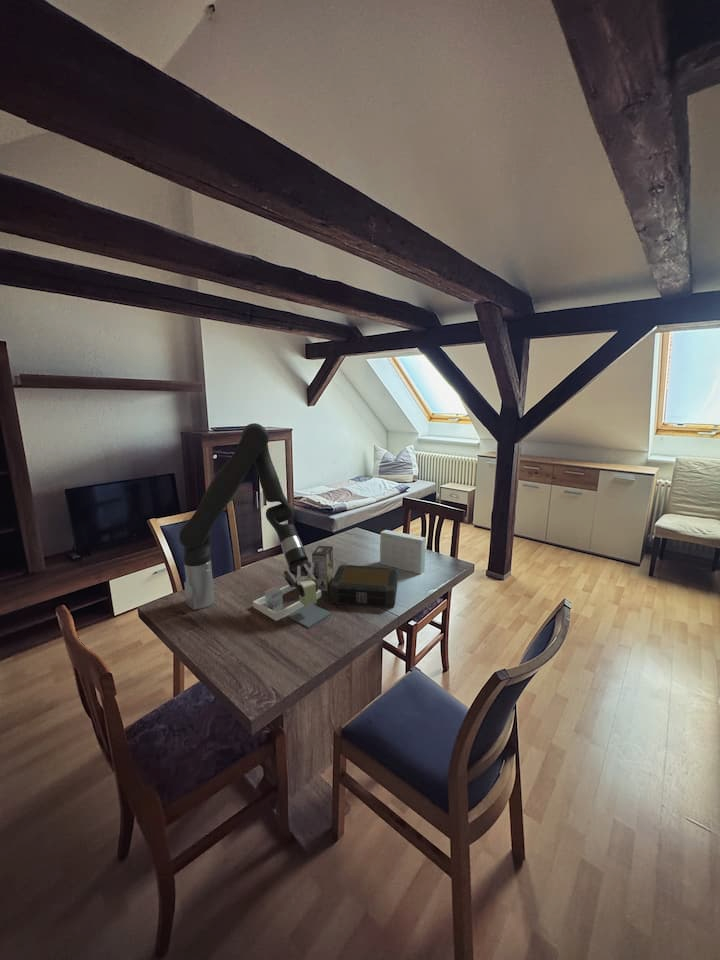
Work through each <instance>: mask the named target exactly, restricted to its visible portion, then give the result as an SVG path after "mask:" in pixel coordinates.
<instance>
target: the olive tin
mask: <svg viewBox="0 0 720 960" xmlns="http://www.w3.org/2000/svg"><path fill="white" fill-rule="evenodd" d="M300 585H302V588H303V590H304V593H305V595H304V596H303V597H301V596H300V595H299V594H298V595H299V601H300V602H301V603H302V604H303V605H304V606H308V605H311V604H314V605H315V604H317V599H316V583H315V582H314V581H313V580H311V579H310V578H309V579H308V578H306V579H304V580H300ZM304 606H303V607H304Z"/></svg>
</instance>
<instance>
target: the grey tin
mask: <svg viewBox="0 0 720 960" xmlns="http://www.w3.org/2000/svg"><path fill="white" fill-rule="evenodd" d="M264 596H265V602H266V603H265V606H266V607H268V608H269V609H271V610H273V611H275V612H276V613H277V612H279V611H281V610H282V609H284V599H283V595H282V590H280V588H278V587H277V586H273V587H271V588H268V589H266V590H265V591H264Z"/></svg>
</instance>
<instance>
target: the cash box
mask: <svg viewBox="0 0 720 960" xmlns="http://www.w3.org/2000/svg"><path fill="white" fill-rule="evenodd" d="M398 572H399V571H398V568H394V567H387V566H386V567H385V566H384V567H383V566H370V565H369V566H368V565H367V566H366V565H353V564H351V565H350V564H341V565H339V566H338V567H337V570H336V572H335V574H334V575H333V580H332V582H331V584H330V588H329V595H330V596H329V597H330V598H329V601H330V603H331V604H336V605H349V606H363V607H375V608H386V609H387V608H389V609H391V608H392V609H393V608H394V607H395V606H396V599H397V592H398V591H397V590H398V575H399V574H398Z"/></svg>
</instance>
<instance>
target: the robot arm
mask: <svg viewBox="0 0 720 960" xmlns="http://www.w3.org/2000/svg"><path fill="white" fill-rule="evenodd" d="M269 440H270V437H269V432H268V431H267V429H266V428H265V427H264V426H263V425H261V424H259V423H255V422H253V423H250V424H247V425H246V426H245V427H244V428H243V429H242V432H241V437H240V441H239V443H238V445H237V447H236V449H235V451H233V453H232V455H231V456H230V457H229V459H228V460H227V461H226V462H225V463H224V464H223V465H222V466H221V467H220V469H219V470H217V472H216V474H215V475H214V477H213V478H212V480H211V481H210V483H209V484H208V487H207V488H206V490H205V492H204V495H203V496H202V499H201V501H200V503H199V505H198V507H197V509H196V511H195V512H194V513H193V514H192V515H191V517H190V519H188V520H187V521H186V522H185V523H184V525H183V526H182V527H181V529H180V530H179V535H178V536H179V541H180V544H181V545H182V547H184V552H183V553H184V554H183V563H184V573H185V581H184V582H183V584H184V593H185V601H186V602H185V603H186V606H188V607H189V608H191V610H193V611H195V610H200V609H204V608H208V607H210V606H211V605H213V604H214V603H215V601H216V600H215V591H214V578H213V571H212V560H211V559H212V558H211V550H212V549H211V548H212V547H211V546H212V545H211V533H210V532H211V531H210V530H211V529H212V527H213V525H214V523H215V522H216V520H217V518H218V517H219V516H220V514H222V512H223V511H224V509H225V508H226V507H227V506H228V505H229V503H230V501H231V500H232V499H233V497H234V496H235V494H236V493H237V491H238V489H239V488H240V487H241V484H242V483H243V481H244V480H245V478H246V476H247V474H248V471H249V469H250V468H251V466H252V464H253V463H254V465H255V468H256V471H257V476H258V480H259V483H260V487H261V490H262V493H263V496H264V499H265V501H266V502H268V503H276V502H278V503H279V504H276V505H274V506H270V507H268V508H267V509H266V512H265V517H266V520H267V521H268V523H269V524H270V526H272V528H273V529H274V530H275V532H276V534H277V537H278V539H279V541H280V545H281V549H282V553H283V555H284V558H285V560H286V563H287V565H288V569H287V570H284V571H283V573H282V577H283V578H284V579H285V581H286V582H287V585H290V587H296V590H297V592H298V595H300V596H301V597H303V596H304V595H305V593H304V590H303V588H302V585H300V581H301V578H302V577H306V579H309V578H310V579H311V580H313V581H314V582H315V583H316V592H317V591H318V585H317V582H316V580H317V579H318V578H319V576H320V575H319V567H318V562H315V563H312V562H311V561H309V558H308V555H307V552H306V550H305V548H304V546H303V542H302V541H301V538H300V537H299V534H298V531H297V529H296V527H295V525H294V524H293V523H284V522H287V521H289V520H291V519H293V517H294V514H295V511H294V509H293V506H292V505H291V504H290V502H289V501H288V500H287V498H286V496H285V493H284V491H283V488H282V485H281V481H280V479H279V476H278V474H277V471H276V469H275V466H274V463H273V460H272V458H271V453H270V449H269ZM311 569H312V570H313V569H314V575H313V571H312V570H311ZM291 574H292V575H293V576H294V579H293V577H292V576H291Z"/></svg>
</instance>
